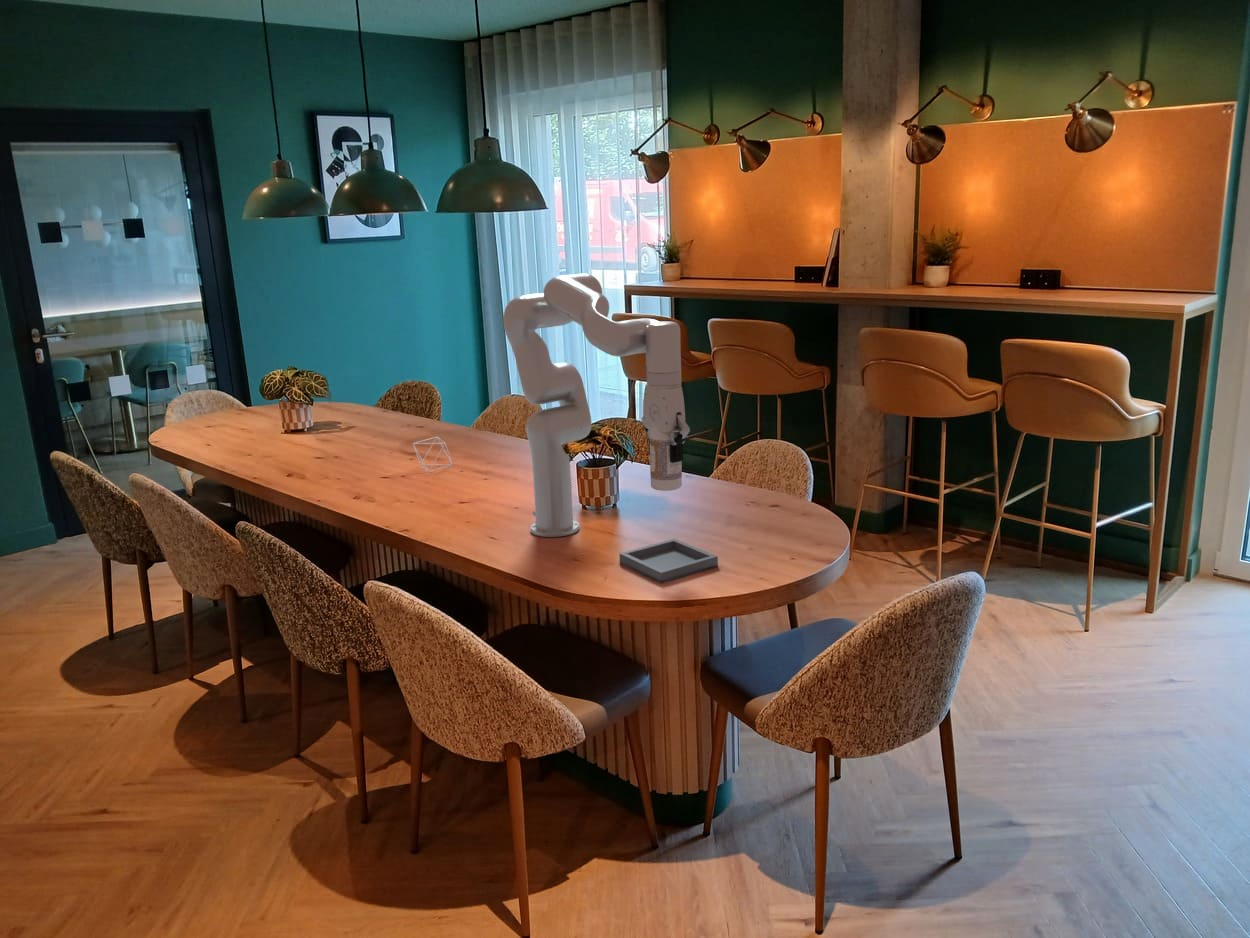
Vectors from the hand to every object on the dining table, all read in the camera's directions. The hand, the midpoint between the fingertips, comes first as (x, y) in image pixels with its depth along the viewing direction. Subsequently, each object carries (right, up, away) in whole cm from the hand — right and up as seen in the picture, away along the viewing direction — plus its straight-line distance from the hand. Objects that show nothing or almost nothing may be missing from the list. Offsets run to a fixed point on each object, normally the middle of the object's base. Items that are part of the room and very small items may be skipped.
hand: (665, 457), depth 212 cm
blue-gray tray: (+1, -25, +7) cm, 25 cm away
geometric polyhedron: (-72, -2, +101) cm, 124 cm away
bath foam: (0, -7, +2) cm, 7 cm away
